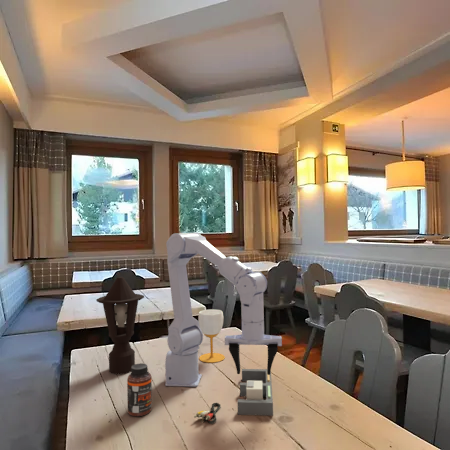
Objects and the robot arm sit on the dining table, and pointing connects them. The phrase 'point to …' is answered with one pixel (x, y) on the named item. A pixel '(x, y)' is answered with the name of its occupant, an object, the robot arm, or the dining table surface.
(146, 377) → the supplement bottle
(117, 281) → the lantern
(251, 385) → the plug
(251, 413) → the socket panel
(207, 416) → the composite cable
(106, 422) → the dining table surface
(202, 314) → the cup
